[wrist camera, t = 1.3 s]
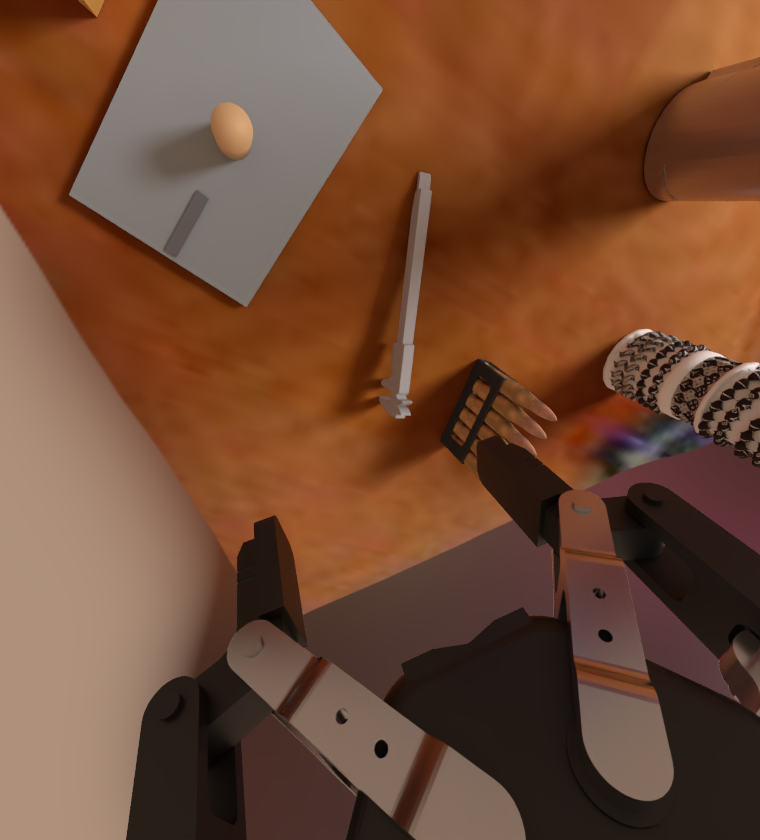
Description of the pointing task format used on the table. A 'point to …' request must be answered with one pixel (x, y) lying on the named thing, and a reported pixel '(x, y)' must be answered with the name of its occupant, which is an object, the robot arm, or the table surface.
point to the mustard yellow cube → (92, 5)
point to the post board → (181, 140)
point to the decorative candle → (690, 387)
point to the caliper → (409, 304)
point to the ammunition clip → (492, 414)
